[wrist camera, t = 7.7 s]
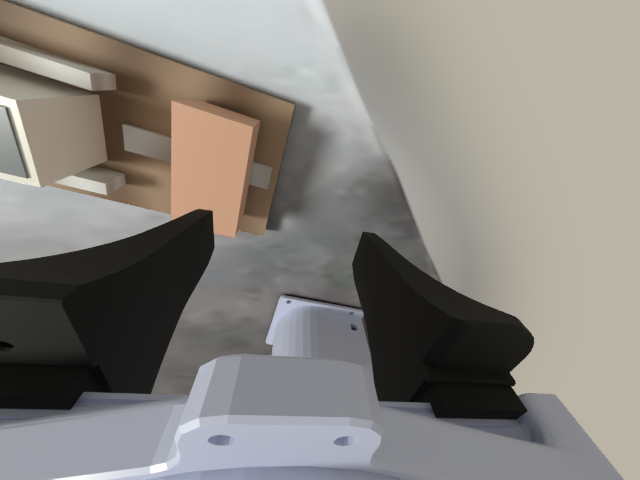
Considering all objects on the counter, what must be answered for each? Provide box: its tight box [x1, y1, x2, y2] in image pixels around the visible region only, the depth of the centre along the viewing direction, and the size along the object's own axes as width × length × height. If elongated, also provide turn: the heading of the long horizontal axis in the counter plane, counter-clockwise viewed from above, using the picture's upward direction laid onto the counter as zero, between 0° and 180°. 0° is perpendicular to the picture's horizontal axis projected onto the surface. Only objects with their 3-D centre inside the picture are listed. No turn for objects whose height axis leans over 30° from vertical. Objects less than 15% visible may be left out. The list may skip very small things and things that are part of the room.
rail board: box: [0, 0, 295, 236], centre depth 15 cm, size 20×10×3 cm, turn 72°
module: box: [0, 64, 108, 188], centre depth 13 cm, size 6×4×5 cm, turn 72°
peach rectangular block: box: [171, 98, 260, 238], centre depth 15 cm, size 4×7×3 cm, turn 162°
